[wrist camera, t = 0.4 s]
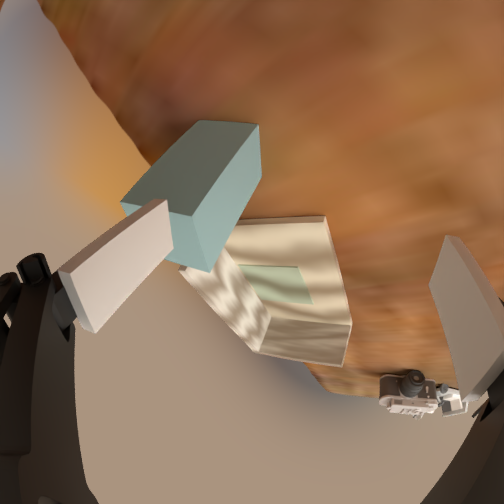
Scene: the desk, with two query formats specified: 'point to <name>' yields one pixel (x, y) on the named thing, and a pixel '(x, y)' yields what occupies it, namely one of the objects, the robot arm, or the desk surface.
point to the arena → (280, 289)
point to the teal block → (202, 187)
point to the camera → (408, 393)
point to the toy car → (448, 402)
